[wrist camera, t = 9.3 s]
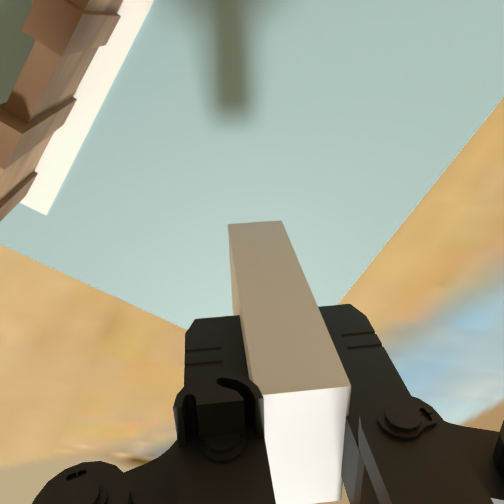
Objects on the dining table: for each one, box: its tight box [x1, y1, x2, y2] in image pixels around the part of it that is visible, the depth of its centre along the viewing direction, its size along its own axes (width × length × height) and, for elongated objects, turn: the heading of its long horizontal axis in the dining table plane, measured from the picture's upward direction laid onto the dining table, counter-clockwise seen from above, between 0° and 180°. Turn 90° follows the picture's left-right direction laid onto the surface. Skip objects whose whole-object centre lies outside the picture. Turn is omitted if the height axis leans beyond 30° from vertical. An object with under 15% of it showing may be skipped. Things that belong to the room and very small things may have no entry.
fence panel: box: [0, 0, 123, 222], centre depth 13 cm, size 11×1×5 cm, turn 145°
